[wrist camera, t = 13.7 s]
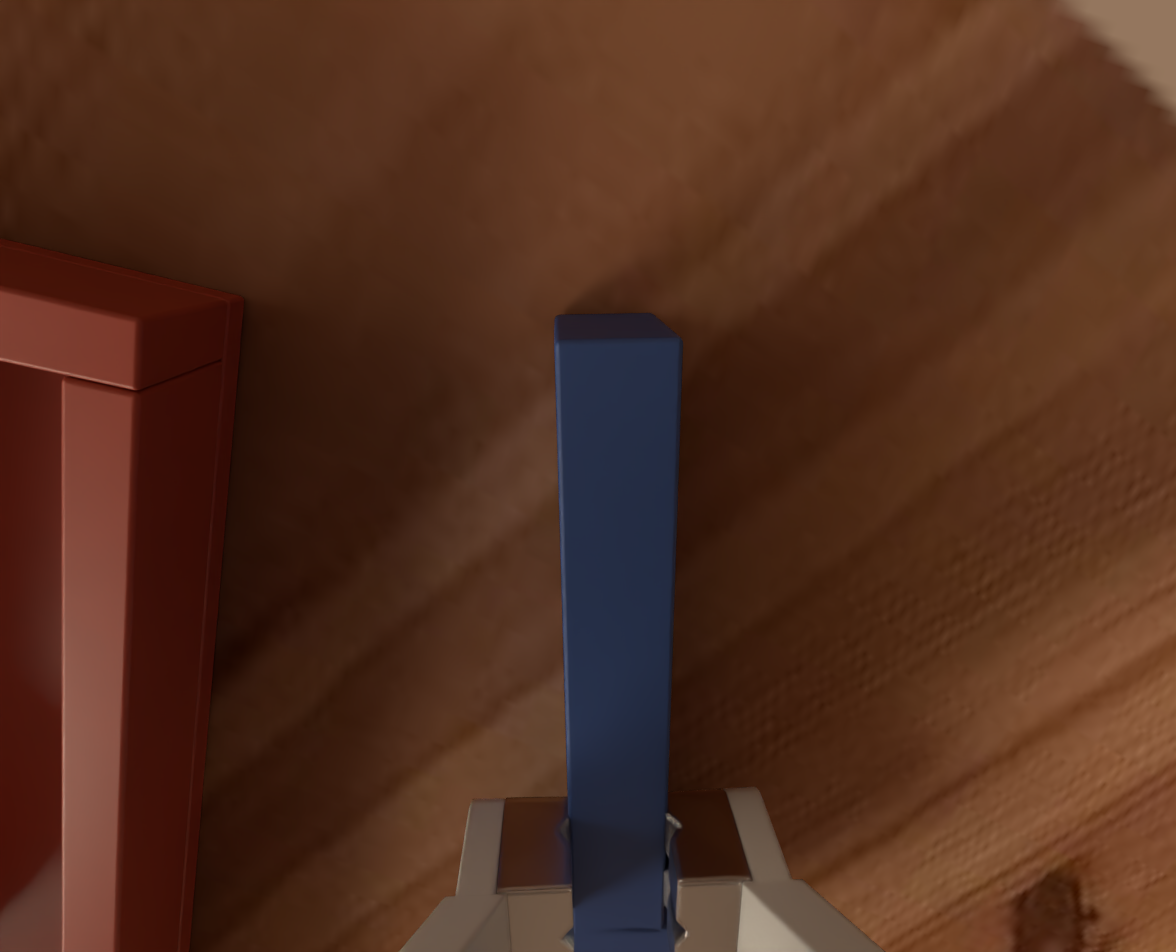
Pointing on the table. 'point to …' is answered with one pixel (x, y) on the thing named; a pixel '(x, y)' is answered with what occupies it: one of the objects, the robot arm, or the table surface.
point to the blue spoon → (618, 614)
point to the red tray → (107, 594)
